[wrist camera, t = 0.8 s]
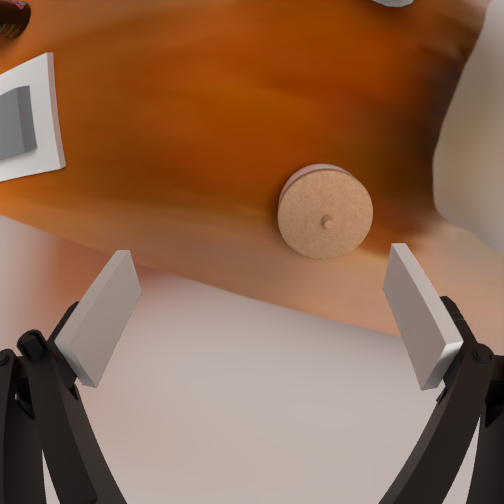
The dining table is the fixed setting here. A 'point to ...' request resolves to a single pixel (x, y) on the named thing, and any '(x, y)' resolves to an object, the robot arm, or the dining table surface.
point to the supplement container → (13, 18)
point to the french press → (394, 2)
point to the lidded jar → (324, 212)
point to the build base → (41, 118)
